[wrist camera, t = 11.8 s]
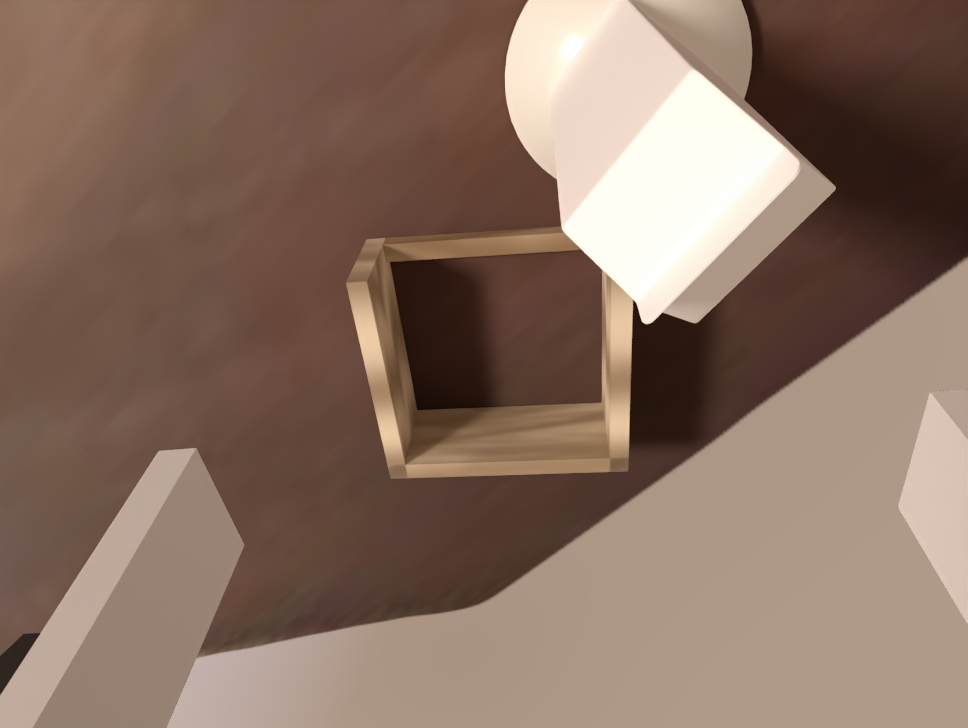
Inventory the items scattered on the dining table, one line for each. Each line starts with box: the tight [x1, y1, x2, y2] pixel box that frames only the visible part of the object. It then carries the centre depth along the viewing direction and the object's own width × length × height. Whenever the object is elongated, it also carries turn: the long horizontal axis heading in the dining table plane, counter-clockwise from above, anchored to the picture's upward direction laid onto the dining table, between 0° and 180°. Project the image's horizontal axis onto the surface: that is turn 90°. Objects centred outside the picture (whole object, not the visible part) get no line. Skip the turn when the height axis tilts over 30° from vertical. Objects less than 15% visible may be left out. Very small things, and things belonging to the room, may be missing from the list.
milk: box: [549, 0, 836, 324], centre depth 28 cm, size 6×6×22 cm
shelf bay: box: [346, 226, 633, 479], centre depth 45 cm, size 15×16×6 cm
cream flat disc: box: [505, 0, 752, 179], centre depth 37 cm, size 13×13×1 cm
